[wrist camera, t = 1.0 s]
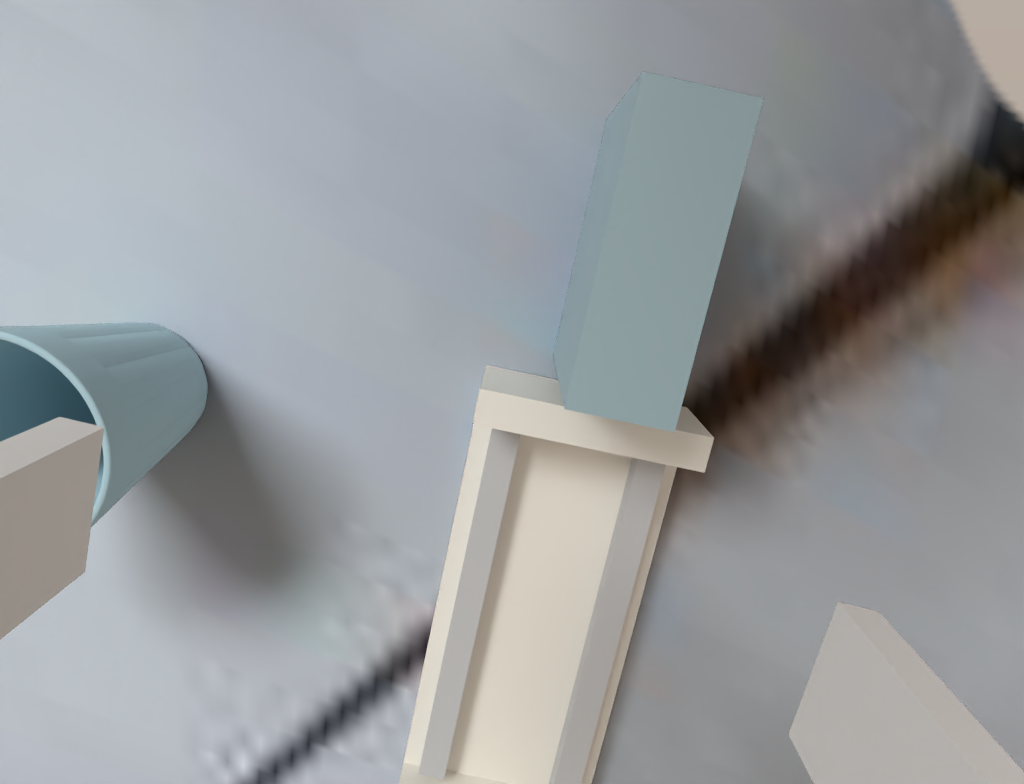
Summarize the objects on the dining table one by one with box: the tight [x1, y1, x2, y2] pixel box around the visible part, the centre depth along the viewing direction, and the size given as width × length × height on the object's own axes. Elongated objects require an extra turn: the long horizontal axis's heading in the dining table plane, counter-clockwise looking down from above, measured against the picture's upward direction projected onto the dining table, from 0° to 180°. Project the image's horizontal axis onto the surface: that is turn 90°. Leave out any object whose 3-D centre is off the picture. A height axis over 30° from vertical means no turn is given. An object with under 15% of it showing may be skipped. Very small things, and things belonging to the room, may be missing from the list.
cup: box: [0, 323, 208, 527], centre depth 29 cm, size 8×8×10 cm
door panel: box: [553, 71, 764, 432], centre depth 28 cm, size 10×4×10 cm, turn 168°
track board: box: [399, 365, 714, 784], centre depth 29 cm, size 22×9×15 cm, turn 168°
